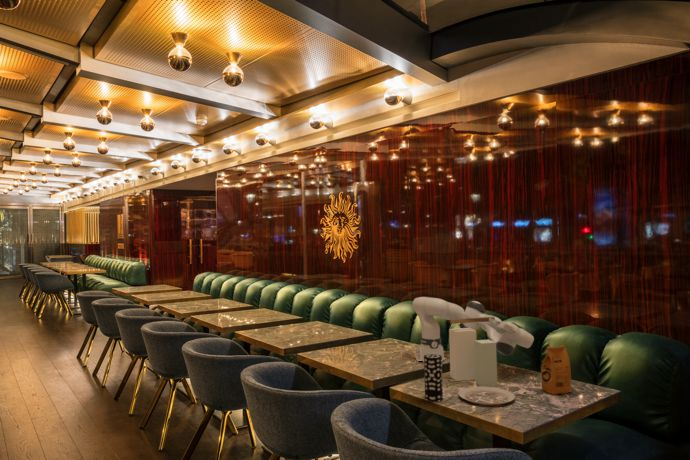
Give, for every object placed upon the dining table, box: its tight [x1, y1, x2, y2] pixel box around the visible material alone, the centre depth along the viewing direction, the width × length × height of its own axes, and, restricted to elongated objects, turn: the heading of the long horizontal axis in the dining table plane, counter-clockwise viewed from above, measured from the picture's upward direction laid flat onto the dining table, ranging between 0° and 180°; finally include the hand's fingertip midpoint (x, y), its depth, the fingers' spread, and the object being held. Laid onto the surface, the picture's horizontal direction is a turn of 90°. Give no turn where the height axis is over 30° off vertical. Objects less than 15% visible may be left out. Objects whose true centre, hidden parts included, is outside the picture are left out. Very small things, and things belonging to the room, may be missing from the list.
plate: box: [458, 385, 516, 406], centre depth 232 cm, size 26×26×2 cm
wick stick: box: [448, 316, 496, 325], centre depth 268 cm, size 3×25×2 cm, turn 101°
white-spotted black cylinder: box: [423, 354, 444, 403], centre depth 233 cm, size 8×8×20 cm
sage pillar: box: [474, 339, 498, 387], centre depth 254 cm, size 8×8×22 cm
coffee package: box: [540, 344, 572, 396], centre depth 240 cm, size 10×12×22 cm
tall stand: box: [448, 327, 478, 382], centre depth 266 cm, size 8×12×26 cm, turn 101°
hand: (487, 318), depth 269 cm, fingers closed on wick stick, 3 cm apart
